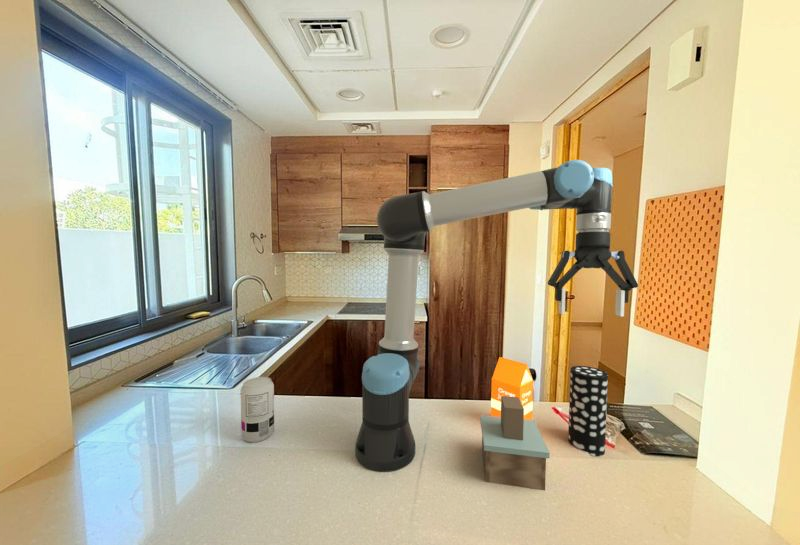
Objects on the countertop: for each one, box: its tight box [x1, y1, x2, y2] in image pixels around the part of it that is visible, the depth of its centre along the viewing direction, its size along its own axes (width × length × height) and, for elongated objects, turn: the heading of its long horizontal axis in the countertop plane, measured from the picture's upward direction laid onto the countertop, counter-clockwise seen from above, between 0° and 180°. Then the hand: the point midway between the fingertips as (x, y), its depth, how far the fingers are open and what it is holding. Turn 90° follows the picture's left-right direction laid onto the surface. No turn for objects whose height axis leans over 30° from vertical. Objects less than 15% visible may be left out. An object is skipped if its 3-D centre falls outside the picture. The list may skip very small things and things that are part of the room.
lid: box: [479, 396, 550, 459], centre depth 72 cm, size 13×13×8 cm
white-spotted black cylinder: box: [567, 365, 609, 457], centre depth 81 cm, size 8×8×20 cm
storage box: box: [481, 436, 547, 491], centre depth 72 cm, size 12×12×8 cm
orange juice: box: [490, 356, 534, 420], centre depth 90 cm, size 8×9×20 cm
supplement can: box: [240, 376, 275, 443], centre depth 85 cm, size 8×8×15 cm
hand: (590, 314), depth 80 cm, fingers open, 13 cm apart
